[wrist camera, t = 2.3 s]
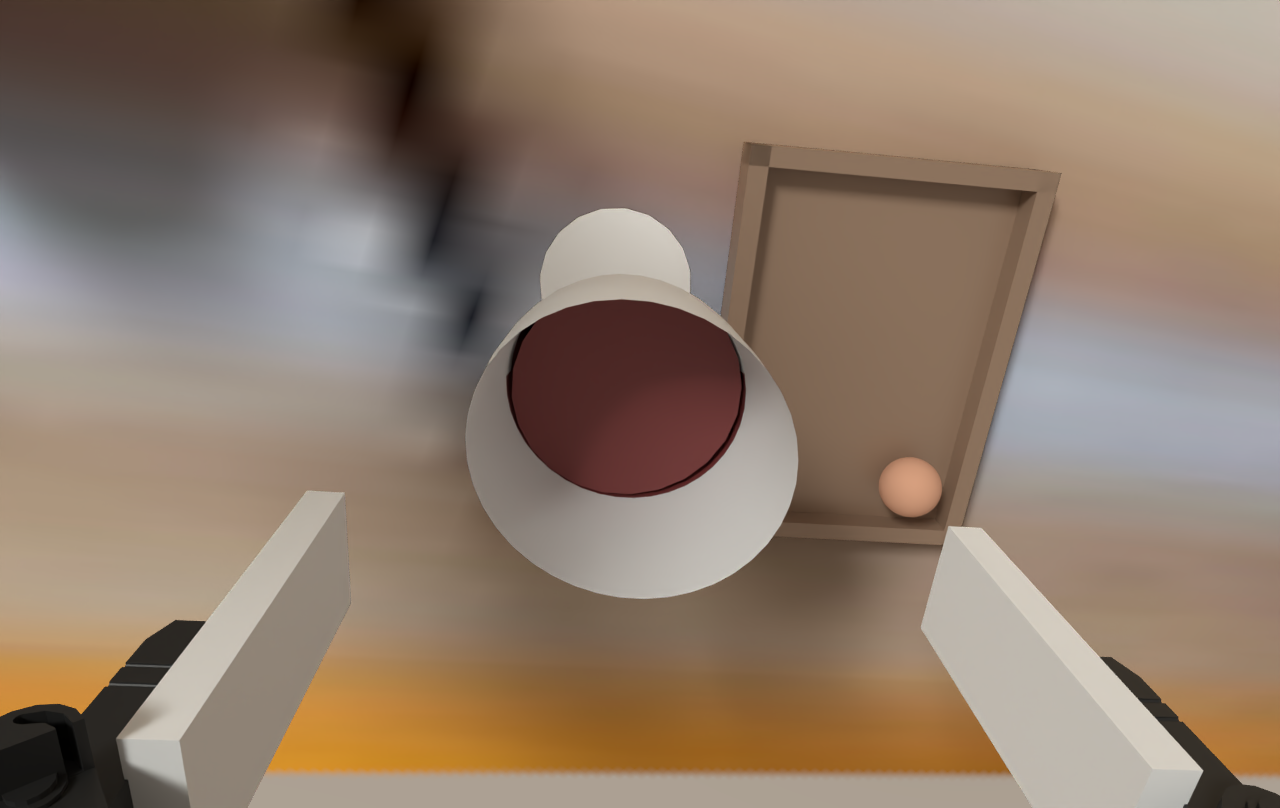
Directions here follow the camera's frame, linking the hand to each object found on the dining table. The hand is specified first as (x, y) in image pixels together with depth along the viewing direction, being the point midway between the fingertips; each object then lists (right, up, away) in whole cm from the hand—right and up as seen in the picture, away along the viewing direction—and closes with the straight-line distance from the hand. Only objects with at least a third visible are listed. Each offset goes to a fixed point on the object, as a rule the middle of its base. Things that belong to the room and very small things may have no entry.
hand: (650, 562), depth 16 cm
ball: (+15, -1, +29) cm, 33 cm away
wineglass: (-2, +10, +25) cm, 27 cm away
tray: (+12, +6, +27) cm, 30 cm away
